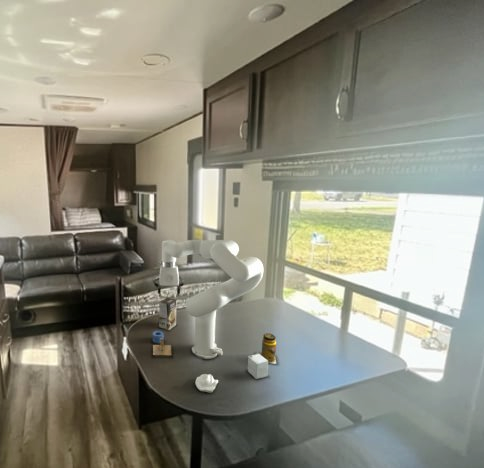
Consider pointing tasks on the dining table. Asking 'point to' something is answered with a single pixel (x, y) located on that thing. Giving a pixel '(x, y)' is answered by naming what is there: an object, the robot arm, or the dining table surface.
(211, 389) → the rose
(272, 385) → the dining table surface
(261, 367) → the product carton
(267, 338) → the condiment
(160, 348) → the dowel stand
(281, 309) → the dining table surface
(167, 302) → the coffee box
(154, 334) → the spool
